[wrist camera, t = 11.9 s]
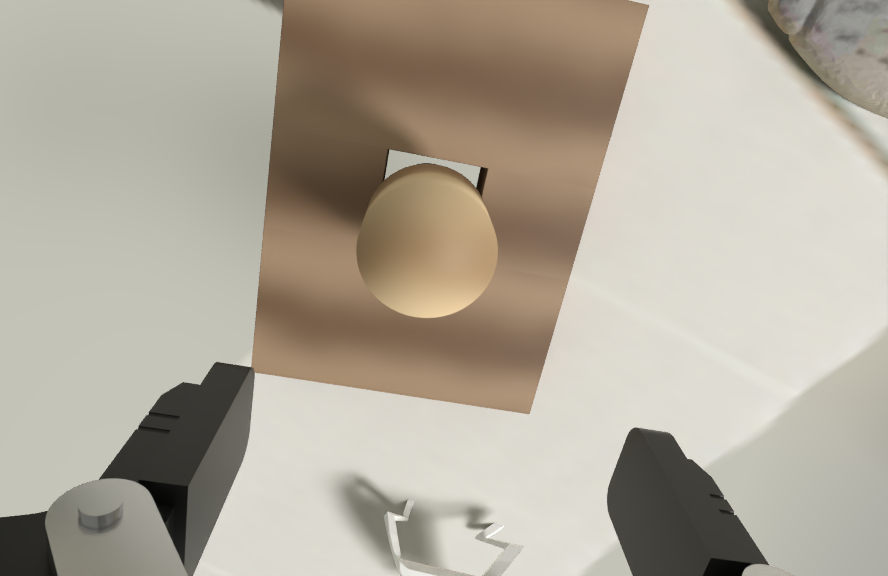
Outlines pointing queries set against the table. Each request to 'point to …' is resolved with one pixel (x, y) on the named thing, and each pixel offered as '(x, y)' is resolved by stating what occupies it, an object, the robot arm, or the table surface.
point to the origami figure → (414, 572)
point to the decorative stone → (841, 45)
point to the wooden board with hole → (444, 137)
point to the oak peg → (427, 242)
